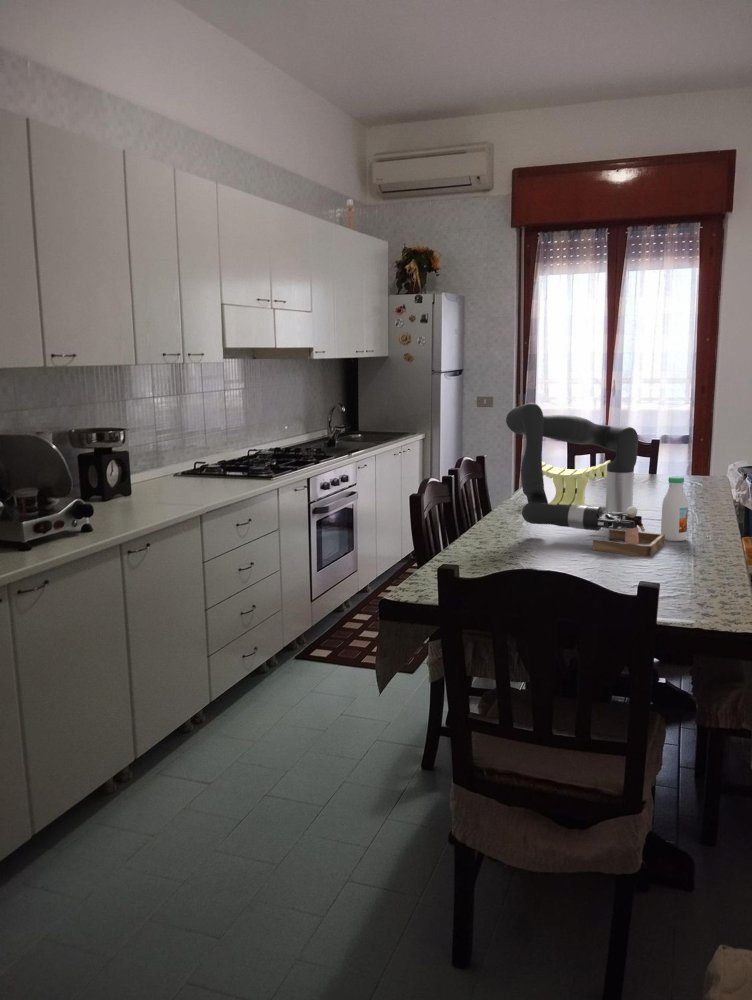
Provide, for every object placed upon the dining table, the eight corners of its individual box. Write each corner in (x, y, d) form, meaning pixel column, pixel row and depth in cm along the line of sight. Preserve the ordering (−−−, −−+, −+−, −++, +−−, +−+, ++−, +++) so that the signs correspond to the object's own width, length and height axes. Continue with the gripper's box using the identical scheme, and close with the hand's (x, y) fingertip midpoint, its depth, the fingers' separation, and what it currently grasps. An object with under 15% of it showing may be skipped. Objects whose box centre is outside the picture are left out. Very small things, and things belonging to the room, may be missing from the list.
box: (609, 538, 256) (610, 529, 256) (664, 543, 247) (664, 534, 247) (592, 550, 241) (593, 540, 241) (650, 556, 232) (650, 546, 232)
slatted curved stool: (609, 503, 315) (610, 458, 312) (603, 510, 301) (605, 464, 298) (534, 499, 327) (535, 456, 324) (525, 506, 313) (525, 461, 310)
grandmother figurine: (641, 545, 246) (643, 505, 244) (644, 548, 242) (646, 507, 240) (616, 545, 247) (617, 505, 245) (618, 548, 243) (620, 507, 241)
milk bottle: (670, 542, 249) (673, 479, 245) (655, 537, 256) (658, 476, 253) (691, 540, 251) (694, 478, 247) (676, 535, 258) (679, 474, 255)
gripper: (578, 509, 244) (632, 514, 235) (592, 502, 256) (644, 506, 247) (577, 533, 245) (631, 538, 237) (592, 524, 257) (643, 529, 248)
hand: (637, 522), depth 242 cm, fingers open, 8 cm apart
